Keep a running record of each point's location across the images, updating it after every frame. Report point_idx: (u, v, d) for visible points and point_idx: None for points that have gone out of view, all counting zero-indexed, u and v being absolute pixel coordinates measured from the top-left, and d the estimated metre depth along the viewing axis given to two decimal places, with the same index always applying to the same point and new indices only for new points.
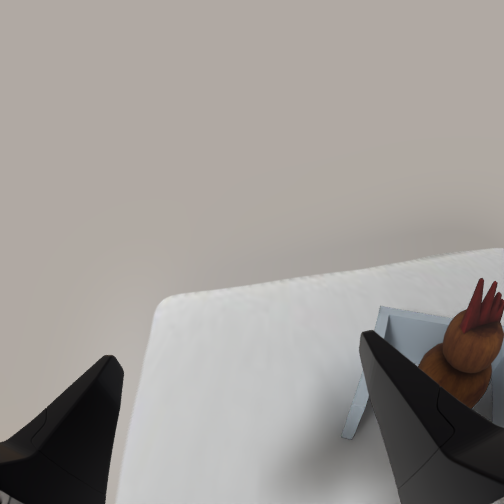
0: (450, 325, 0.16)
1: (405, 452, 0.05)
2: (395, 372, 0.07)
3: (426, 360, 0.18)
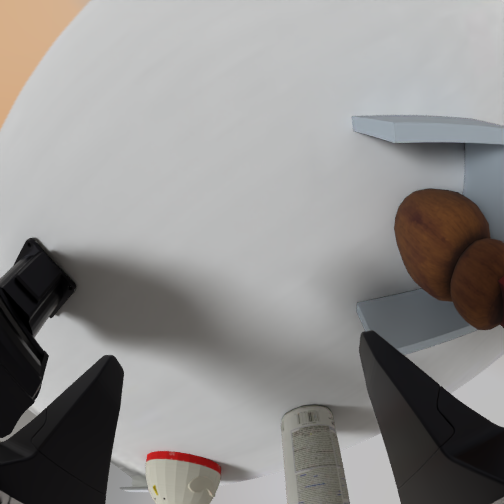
0: None
1: (405, 452, 0.05)
2: (395, 372, 0.07)
3: (469, 213, 0.13)
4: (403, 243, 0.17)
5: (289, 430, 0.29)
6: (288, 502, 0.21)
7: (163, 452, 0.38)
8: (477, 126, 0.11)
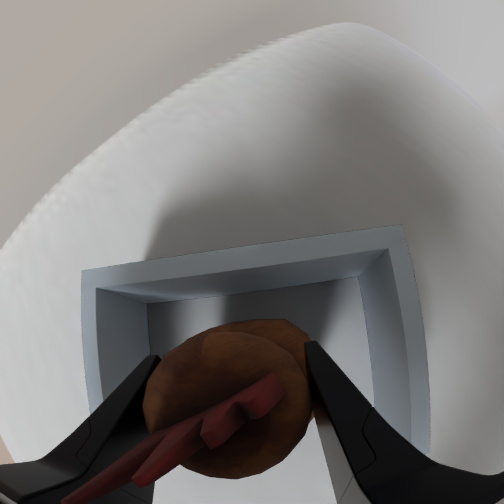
0: None
1: (336, 470, 0.06)
2: (326, 387, 0.07)
3: None
4: None
5: None
6: None
7: None
8: (85, 370, 0.12)
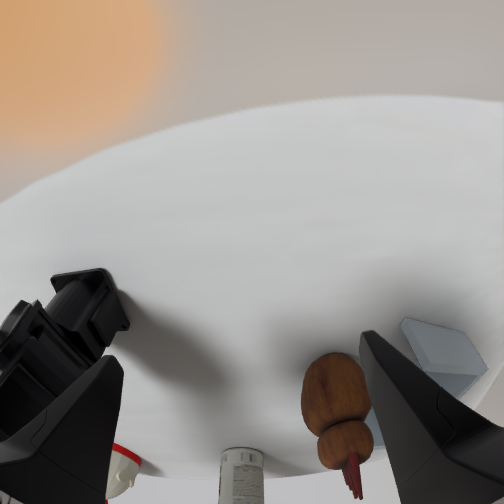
0: (366, 442, 0.17)
1: (405, 452, 0.05)
2: (395, 372, 0.07)
3: (359, 401, 0.20)
4: (307, 387, 0.24)
5: (232, 463, 0.34)
6: None
7: None
8: (465, 367, 0.20)
